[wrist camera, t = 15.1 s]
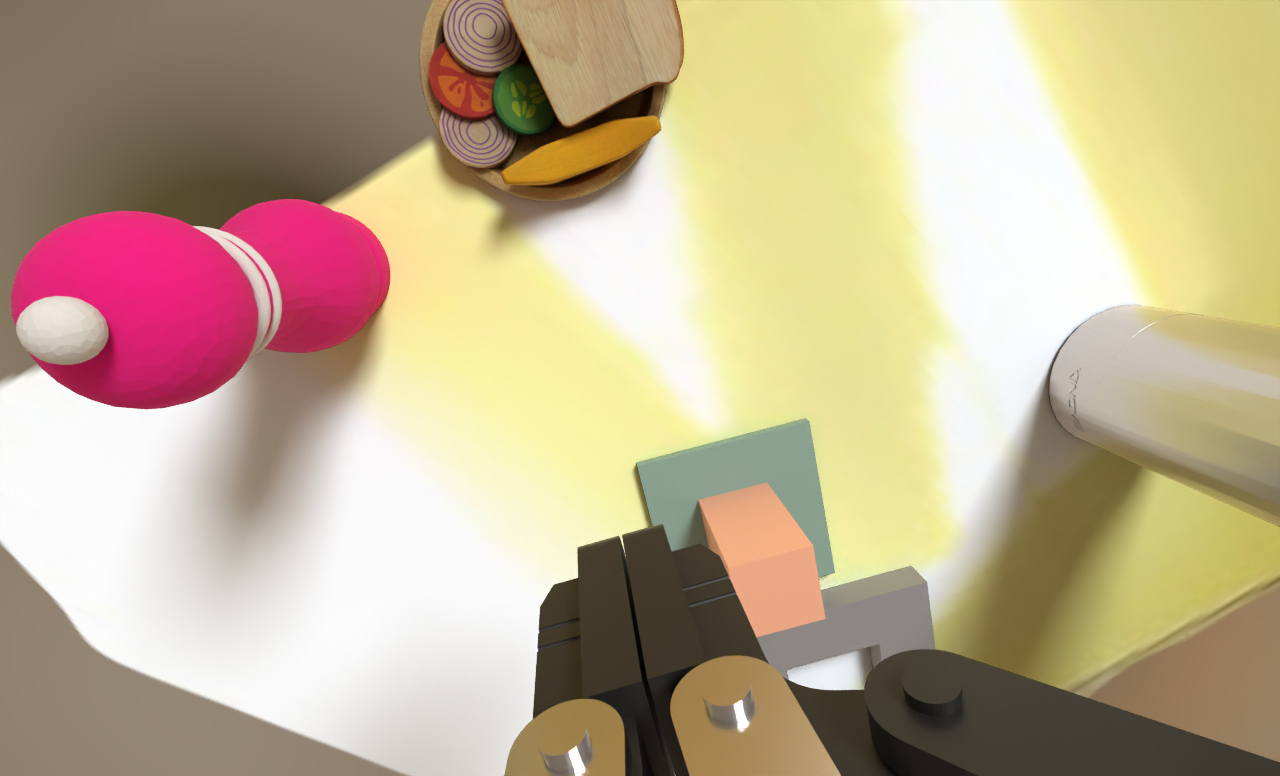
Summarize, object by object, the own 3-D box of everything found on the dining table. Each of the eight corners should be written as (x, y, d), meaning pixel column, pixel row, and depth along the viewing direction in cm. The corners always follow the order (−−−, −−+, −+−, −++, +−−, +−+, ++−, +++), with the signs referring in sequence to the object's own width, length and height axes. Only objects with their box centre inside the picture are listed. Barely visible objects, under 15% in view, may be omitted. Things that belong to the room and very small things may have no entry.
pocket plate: (911, 565, 44) (927, 582, 42) (932, 726, 48) (947, 747, 46) (714, 619, 43) (721, 638, 41) (751, 777, 47) (759, 800, 45)
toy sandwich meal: (384, -13, 32) (352, -51, 27) (639, -98, 32) (650, -150, 27) (479, 232, 35) (465, 234, 31) (708, 154, 36) (728, 145, 31)
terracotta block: (766, 482, 40) (813, 545, 33) (778, 544, 41) (825, 618, 34) (698, 500, 40) (728, 567, 32) (711, 561, 41) (743, 640, 34)
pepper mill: (426, 292, 36) (257, 382, 16) (319, 358, 36) (30, 523, 17) (345, 174, 34) (43, 120, 14) (232, 246, 34) (-210, 286, 15)
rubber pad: (805, 418, 40) (809, 421, 39) (831, 568, 43) (834, 572, 42) (636, 462, 40) (637, 466, 39) (674, 610, 43) (675, 616, 42)
